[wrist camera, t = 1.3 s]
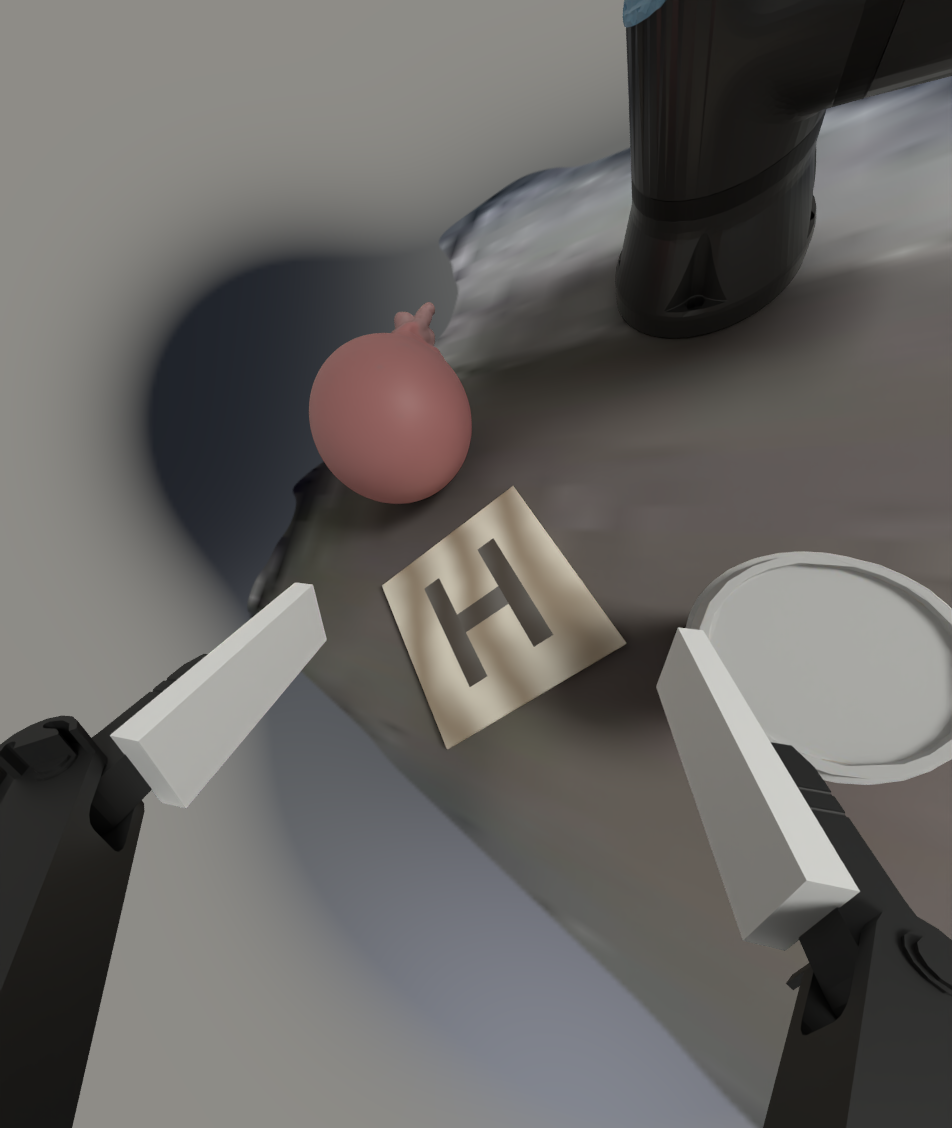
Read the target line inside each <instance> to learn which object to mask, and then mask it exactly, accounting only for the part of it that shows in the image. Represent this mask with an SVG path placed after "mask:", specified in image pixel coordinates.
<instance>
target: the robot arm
mask: <svg viewBox="0 0 952 1128" xmlns="http://www.w3.org/2000/svg"><path fill="white" fill-rule="evenodd" d="M623 23H624V26H625V27H626V39H627V64H628V94H629V121H630V148H631V176H632V207H631V211H630V216H629V221H628V225H627V230H626V235H625V239H624V244H623V249H622V251H621V254H620V257H619V260H618V264H617V268H616V277H615V284H616V297H617V305H618V309H619V311H620V314H621V315H622V317H623V318H624V320H625V321H626V322H627V323H628V324H629V325H631V326H632V327H633V328H635V329H637V330H638V331H640V332H643V333H645V334H649V335H652V336H657V337H665V338H682V337H691V336H697V335H702V334H706V333H710V332H713V331H717V330H720V329H722V328H725V327H728V326H730V325H732V324H735V323H737V322H739V321H741V320H743V319H745V318H747V317H748V316H750V315H752V314H754V313H755V312H757V311H758V310H760V309H761V308H763V307H764V306H765V305H767V304H768V303H769V302H771V301H772V300H773V299H774V298H775V297H776V296H778V295H779V294H780V293H781V292H782V291H783V290H784V289H785V287H786V286H787V285H788V284H789V283H790V282H791V280H792V279H793V278H794V276H795V275H796V273H797V271H798V270H799V268H800V266H801V264H802V261H803V259H804V256H805V254H806V251H807V248H808V246H809V243H810V240H811V238H812V235H813V231H814V227H815V222H816V203H815V198H814V196H813V187H814V181H815V171H816V141H817V138H818V135H819V131H820V128H821V125H822V122H823V119H824V115H825V112H826V109H827V108H831V107H834V106H838V105H841V104H845V103H849V102H852V101H856V100H860V99H864V97H865V98H867V97H871V96H875V95H879V94H882V93H886V92H890V91H894V90H898V89H902V88H906V87H910V86H914V85H918V84H922V83H926V82H930V81H934V80H938V79H942V78H945V77H949V76H952V0H624V8H623ZM326 640H327V639H326V635H325V631H324V627H323V623H322V619H321V615H320V611H319V607H318V603H317V599H316V595H315V591H314V587H313V585H311V584H303V583H294V584H293V585H291V586H290V587H289V588H288V589H287V590H285V591H284V592H283V593H282V594H280V595H279V596H278V597H277V598H276V599H274V600H273V601H272V602H271V603H270V604H268V605H267V606H266V607H265V608H264V609H262V610H261V611H260V612H259V613H257V614H256V615H255V616H254V617H253V618H251V619H250V620H249V621H248V622H247V623H245V624H244V625H243V626H242V627H240V628H239V629H238V630H237V631H236V632H234V633H233V634H232V635H231V636H230V637H229V638H227V639H226V640H225V641H223V642H222V643H221V644H220V645H219V646H217V647H216V648H215V649H214V650H213V651H211V652H210V653H209V654H203V655H201V656H199V657H197V658H195V659H193V660H192V661H190V662H188V663H186V664H184V665H183V666H182V667H180V668H179V669H178V670H177V671H175V672H174V673H173V674H171V675H170V676H169V677H168V678H167V680H166V681H163V682H161V683H160V684H159V685H158V686H156V687H155V688H154V689H153V692H149V693H148V694H147V695H145V696H144V697H143V698H141V699H140V700H139V701H138V702H136V703H135V704H134V705H133V706H131V708H129V709H128V710H126V711H125V712H124V713H123V714H121V715H120V716H119V717H118V718H116V719H115V720H114V721H113V722H111V723H110V724H109V725H108V726H107V727H105V728H104V729H103V730H101V731H100V732H99V733H98V734H96V735H95V736H94V737H92V738H91V737H90V736H89V735H88V733H87V732H86V731H85V730H84V728H83V727H82V726H81V725H80V724H79V722H78V721H77V720H76V719H74V717H72V716H59V717H53V718H49V719H46V720H43V721H40V722H38V723H35V724H33V725H30V726H29V727H27V728H25V729H23V730H21V731H19V732H17V733H16V734H14V735H13V736H11V737H10V738H9V739H7V740H6V741H5V742H3V743H2V744H0V1128H72V1126H73V1121H74V1117H75V1112H76V1108H77V1103H78V1099H79V1095H80V1090H81V1086H82V1082H83V1077H84V1073H85V1069H86V1064H87V1060H88V1055H89V1051H90V1047H91V1042H92V1038H93V1033H94V1029H95V1025H96V1020H97V1016H98V1012H99V1007H100V1003H101V999H102V994H103V990H104V985H105V981H106V977H107V972H108V968H109V963H110V959H111V955H112V950H113V946H114V942H115V937H116V933H117V928H118V924H119V919H120V915H121V910H122V906H123V902H124V898H125V893H126V889H127V885H128V880H129V876H130V871H131V867H132V863H133V858H134V854H135V850H136V845H137V841H138V836H139V832H140V828H141V823H142V819H143V815H144V803H143V802H142V799H143V798H144V797H145V796H146V795H147V794H148V793H149V792H150V791H151V790H152V791H153V793H154V794H155V795H156V797H157V798H158V799H159V801H160V802H161V803H164V804H169V805H173V806H177V807H181V808H185V809H186V808H187V807H188V806H189V805H190V803H191V802H192V801H193V800H194V799H195V798H196V796H197V795H198V794H199V793H200V792H201V790H202V789H203V788H204V787H205V786H206V784H207V783H208V782H209V781H210V779H211V778H212V777H213V776H214V775H215V774H216V772H217V771H218V770H219V769H220V767H221V766H222V765H223V764H224V763H225V761H226V760H227V759H228V758H229V757H230V756H231V754H232V753H233V752H234V751H235V749H236V748H237V747H238V746H239V745H240V744H241V742H242V741H243V740H244V739H245V737H246V736H247V735H248V734H249V733H250V731H251V730H252V729H253V728H254V727H255V725H256V724H257V723H258V722H259V721H260V719H261V718H262V717H263V716H264V715H265V713H266V712H267V711H268V710H269V709H270V707H271V706H272V705H273V704H274V703H275V701H276V700H277V699H278V698H279V697H280V695H281V694H282V693H283V692H284V691H285V689H286V688H287V687H288V686H289V684H290V683H291V682H292V681H293V680H294V679H295V677H296V676H297V675H298V674H299V673H300V671H301V670H302V669H303V668H304V667H305V665H306V664H307V663H308V662H309V661H310V659H311V658H312V657H313V656H314V655H315V653H316V652H317V651H318V650H319V649H320V647H321V646H322V645H323V644H324V643H325V641H326ZM656 688H657V691H658V694H659V697H660V700H661V703H662V706H663V708H664V711H665V714H666V717H667V720H668V723H669V726H670V729H671V732H672V735H673V738H674V741H675V744H676V746H677V749H678V752H679V755H680V758H681V761H682V764H683V767H684V770H685V773H686V776H687V779H688V782H689V784H690V787H691V790H692V793H693V796H694V799H695V802H696V805H697V808H698V811H699V814H700V817H701V820H702V822H703V825H704V828H705V831H706V834H707V837H708V840H709V843H710V846H711V849H712V852H713V855H714V857H715V860H716V863H717V866H718V869H719V872H720V875H721V878H722V881H723V884H724V887H725V890H726V893H727V895H728V898H729V901H730V904H731V907H732V910H733V913H734V916H735V919H736V922H737V925H738V928H739V931H740V933H741V936H742V939H743V941H746V942H751V943H755V944H759V945H763V946H768V947H772V948H776V949H780V950H784V951H785V950H787V949H788V948H789V947H791V946H792V945H793V944H794V943H796V942H797V941H798V940H800V942H801V945H802V947H803V949H804V951H805V954H806V956H807V958H808V960H809V963H808V964H807V965H806V966H804V967H803V968H801V969H800V970H798V971H797V972H796V973H794V974H793V975H792V976H791V977H790V979H789V980H788V981H787V983H786V984H787V985H788V986H789V987H790V988H791V989H792V990H794V989H796V988H797V987H799V986H800V988H799V992H798V996H797V1000H796V1003H795V1007H794V1011H793V1015H792V1019H791V1023H790V1027H789V1030H788V1034H787V1038H786V1042H785V1046H784V1050H783V1053H782V1057H781V1061H780V1065H779V1069H778V1073H777V1077H776V1080H775V1084H774V1088H773V1092H772V1096H771V1100H770V1103H769V1107H768V1111H767V1115H766V1119H765V1123H764V1127H763V1128H952V940H951V939H950V938H948V937H947V936H946V935H945V934H943V933H942V932H941V931H940V930H939V929H937V928H935V927H934V926H932V925H930V924H929V923H927V922H925V921H924V920H922V919H920V918H919V917H917V916H916V915H915V913H914V912H913V911H912V909H911V908H910V907H909V906H908V904H907V903H906V902H905V900H904V899H903V897H902V896H901V894H900V893H899V891H898V890H897V888H896V887H895V886H894V884H893V883H892V881H891V880H890V878H889V877H888V875H887V874H886V872H885V871H884V869H883V868H882V866H881V865H880V863H879V862H878V860H877V859H876V857H875V856H874V854H873V853H872V851H871V850H870V848H869V847H868V846H867V844H866V843H865V841H864V840H863V838H862V837H861V835H860V834H859V832H858V831H857V829H856V828H855V826H854V825H853V823H852V822H851V820H850V819H849V818H848V817H846V816H845V811H844V810H843V808H842V807H841V806H840V804H839V803H838V801H837V800H836V798H835V797H834V796H832V795H831V791H830V789H829V788H828V786H827V785H826V783H825V782H824V780H823V779H822V777H821V776H820V774H819V773H818V771H817V770H816V768H815V767H814V766H813V765H812V764H811V763H810V762H809V761H808V760H806V759H805V758H804V757H803V756H802V755H801V754H800V753H799V752H798V751H797V750H796V749H795V748H794V747H793V746H792V745H786V744H779V743H773V742H770V741H769V739H768V737H767V736H766V734H765V732H764V731H763V729H762V727H761V726H760V724H759V722H758V721H757V719H756V717H755V716H754V714H753V712H752V711H751V709H750V707H749V706H748V704H747V702H746V701H745V699H744V697H743V696H742V694H741V692H740V691H739V689H738V687H737V686H736V684H735V682H734V681H733V679H732V677H731V676H730V674H729V672H728V671H727V669H726V667H725V666H724V664H723V662H722V661H721V659H720V657H719V656H718V654H717V652H716V651H715V649H714V647H713V646H712V644H711V642H710V641H709V639H708V637H707V636H706V634H705V632H704V631H703V630H696V629H688V628H679V627H678V629H677V631H676V634H675V637H674V640H673V642H672V645H671V648H670V650H669V653H668V656H667V659H666V661H665V664H664V667H663V669H662V672H661V675H660V678H659V680H658V683H657V686H656Z"/></svg>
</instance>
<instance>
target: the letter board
mask: <svg viewBox="0 0 952 1128" xmlns="http://www.w3.org/2000/svg"><path fill="white" fill-rule="evenodd" d="M382 587H383V590H384V592H385V595H386V597H387V600H388V602H389V605H390V607H391V610H392V612H393V615H394V617H395V620H396V622H397V625H398V627H399V630H400V632H401V635H402V638H403V640H404V643H405V645H406V648H407V650H408V653H409V655H410V658H411V660H412V663H413V665H414V668H415V670H416V673H417V675H418V678H419V680H420V683H421V685H422V688H423V690H424V693H425V695H426V698H427V700H428V703H429V705H430V708H431V710H432V713H433V715H434V718H435V721H436V723H437V726H438V728H439V731H440V733H441V736H442V738H443V741H444V743H445V746H446V748H447V749H449V748H452V747H453V746H455V745H457V744H458V743H460V742H462V741H464V740H465V739H467V738H469V737H470V736H472V735H474V734H475V733H477V732H479V731H480V730H482V729H484V728H485V727H487V726H489V725H491V724H492V723H494V722H496V721H497V720H499V719H501V718H502V717H504V716H506V715H507V714H509V713H511V712H513V711H514V710H516V709H518V708H519V707H521V706H523V705H524V704H526V703H528V702H529V701H531V700H533V699H535V698H536V697H538V696H540V695H541V694H543V693H545V692H546V691H548V690H550V689H551V688H553V687H555V686H556V685H558V684H560V683H562V682H563V681H565V680H567V679H568V678H570V677H572V676H573V675H575V674H577V673H578V672H580V671H582V670H584V669H585V668H587V667H589V666H590V665H592V664H594V663H595V662H597V661H599V660H600V659H602V658H604V657H606V656H607V655H609V654H611V653H612V652H614V651H616V650H617V649H619V648H621V647H622V646H624V645H626V644H627V643H626V642H625V640H624V639H623V638H622V636H621V635H620V634H619V632H618V631H617V629H616V628H615V627H614V625H613V624H612V622H611V621H610V620H609V618H608V617H607V615H606V614H605V613H604V611H603V610H602V609H601V607H600V606H599V604H598V603H597V602H596V600H595V599H594V597H593V596H592V595H591V593H590V592H589V590H588V589H587V588H586V586H585V585H584V584H583V582H582V581H581V579H580V578H579V577H578V575H577V574H576V572H575V571H574V570H573V568H572V567H571V565H570V564H569V563H568V561H567V560H566V559H565V557H564V556H563V554H562V553H561V552H560V550H559V549H558V547H557V546H556V545H555V543H554V542H553V540H552V539H551V538H550V536H549V535H548V534H547V532H546V531H545V529H544V528H543V527H542V525H541V524H540V522H539V521H538V520H537V518H536V517H535V515H534V514H533V513H532V511H531V510H530V509H529V507H528V506H527V504H526V503H525V502H524V500H523V499H522V497H521V496H520V495H519V493H518V492H517V490H516V489H515V488H514V486H512V487H511V488H510V489H508V490H507V491H506V492H505V493H503V494H502V495H501V496H499V497H498V498H497V499H495V500H494V501H493V502H491V503H490V504H489V505H487V506H486V507H485V508H484V509H482V510H481V511H480V512H478V513H477V514H476V515H474V516H473V517H472V518H470V519H469V520H468V521H466V522H465V523H464V524H463V525H461V526H460V527H459V528H457V529H456V530H455V531H453V532H452V533H451V534H449V535H448V536H447V537H445V538H444V539H443V540H441V541H440V542H439V543H438V544H436V545H435V546H434V547H432V548H431V549H430V550H428V551H427V552H426V553H424V554H423V555H422V556H420V557H419V558H418V559H417V560H415V561H414V562H413V563H411V564H410V565H409V566H407V567H406V568H405V569H403V570H402V571H401V572H399V573H398V574H397V575H396V576H394V577H393V578H392V579H390V580H389V581H388V582H386V583H385V584H384V585H382Z"/></svg>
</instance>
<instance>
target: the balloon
mask: <svg viewBox="0 0 952 1128" xmlns="http://www.w3.org/2000/svg"><path fill="white" fill-rule="evenodd" d="M434 313H435V307H434V305H433V304H432V303H430V302H427V303H426V304H424V305H423V306H422V307H421V308H420V309H419V310H418V311H417V313H416V315H415V316H412V315H411V314H410V313H407V312H398V313H397V314H396V315H395V318H394V323H395V330H393V331H392V333H377V334H369V335H364V336H361V337H358V338H356V339H353V340H351V341H349V342H347V343H345V344H344V345H342V346H341V347H339V348H338V349H337V350H336V351H335V352H334V353H332V354H331V356H329V358H328V359H327V360H326V361H325V363H324V364H323V365H322V367H321V368H320V370H319V372H318V374H317V376H316V378H315V381H314V384H313V387H312V391H311V396H310V403H309V420H310V427H311V431H312V436H313V439H314V442H315V444H316V447H317V449H318V452H319V454H320V455H321V457H322V459H323V461H324V462H325V464H326V465H327V467H328V468H329V469H330V470H331V472H332V473H333V474H334V475H335V476H336V477H337V478H338V479H339V480H340V481H341V482H342V483H343V484H345V485H346V486H347V487H349V488H350V489H351V490H353V491H355V492H356V493H358V494H360V495H362V496H364V497H366V498H369V499H372V500H375V501H379V502H383V503H391V504H404V503H411V502H416V501H419V500H423V499H425V498H428V497H430V496H432V495H434V494H435V493H437V492H438V491H440V490H441V489H443V488H444V487H445V486H446V485H447V484H448V483H449V482H450V481H451V480H452V479H453V478H454V477H455V475H456V474H457V473H458V471H459V470H460V468H461V466H462V464H463V462H464V460H465V458H466V455H467V453H468V449H469V445H470V440H471V433H472V420H471V411H470V406H469V402H468V398H467V395H466V393H465V390H464V388H463V386H462V384H461V382H460V380H459V378H458V376H457V375H456V373H455V372H454V371H453V369H452V368H451V367H450V365H449V364H448V363H447V362H446V361H445V359H444V357H443V356H442V355H441V353H440V351H439V350H438V349H437V348H436V347H434V343H435V335H434V332H433V331H432V330H431V329H430V328H429V324H430V322H431V320H432V316H433V314H434Z"/></svg>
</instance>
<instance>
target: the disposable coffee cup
mask: <svg viewBox="0 0 952 1128" xmlns="http://www.w3.org/2000/svg"><path fill="white" fill-rule="evenodd" d="M686 628H688V629H696V630H703V631H704V632H705V634H706V636H707V637H708V639H709V641H710V642H711V644H712V646H713V647H714V649H715V651H716V652H717V654H718V656H719V657H720V659H721V661H722V662H723V664H724V666H725V667H726V669H727V671H728V672H729V674H730V676H731V677H732V679H733V681H734V682H735V684H736V686H737V687H738V689H739V691H740V692H741V694H742V696H743V697H744V699H745V701H746V702H747V704H748V706H749V707H750V709H751V711H752V712H753V714H754V716H755V717H756V719H757V721H758V722H759V724H760V726H761V727H762V729H763V731H764V732H765V734H766V736H767V737H768V739H769V741H770V742H773V743H779V744H786V745H792V746H793V747H794V748H795V749H796V750H797V751H798V752H799V753H800V754H801V755H802V756H803V757H804V758H805V759H806V760H808V761H809V762H810V763H811V764H812V765H813V766H814V767H815V768H816V770H817V771H818V773H819V774H820V776H821V777H822V779H823V780H826V781H831V782H835V783H847V784H862V785H873V784H881V783H888V782H896V781H904V780H907V779H909V778H912V777H915V776H918V775H921V774H924V773H926V772H929V771H932V770H933V769H935V768H936V767H938V766H940V765H942V764H943V763H945V762H947V761H949V760H951V759H952V609H951V608H950V607H949V606H948V605H947V604H946V603H945V602H944V601H942V600H941V599H940V598H939V597H938V596H936V595H935V594H934V593H933V592H931V591H930V590H929V589H928V588H926V587H924V586H922V585H921V584H919V583H917V582H915V581H914V580H912V579H910V578H908V577H907V576H905V575H902V574H900V573H898V572H895V571H893V570H891V569H888V568H886V567H884V566H881V565H878V564H874V563H870V562H866V561H862V560H858V559H854V558H851V557H847V556H841V555H835V554H829V553H820V552H803V551H800V552H787V553H777V554H772V555H767V556H763V557H758V558H754V559H752V560H749V561H747V562H745V563H742V564H740V565H738V566H735V567H733V568H731V569H729V570H728V571H726V572H725V573H723V574H722V575H721V576H719V577H718V578H716V579H715V580H714V581H712V582H711V584H710V585H709V586H708V587H707V588H706V589H705V590H704V591H703V592H702V593H701V594H700V595H699V597H698V599H697V600H696V602H695V604H694V606H693V607H692V609H691V611H690V613H689V616H688V620H687V624H686Z"/></svg>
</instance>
